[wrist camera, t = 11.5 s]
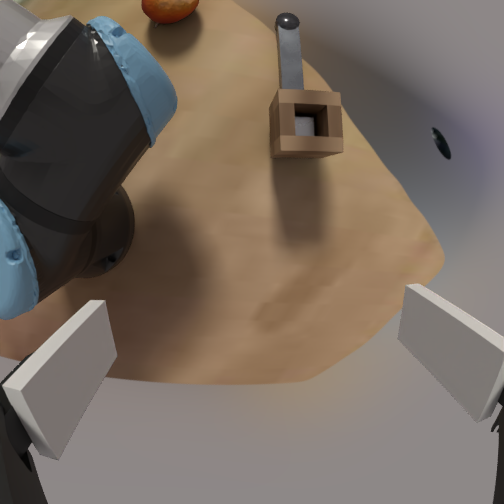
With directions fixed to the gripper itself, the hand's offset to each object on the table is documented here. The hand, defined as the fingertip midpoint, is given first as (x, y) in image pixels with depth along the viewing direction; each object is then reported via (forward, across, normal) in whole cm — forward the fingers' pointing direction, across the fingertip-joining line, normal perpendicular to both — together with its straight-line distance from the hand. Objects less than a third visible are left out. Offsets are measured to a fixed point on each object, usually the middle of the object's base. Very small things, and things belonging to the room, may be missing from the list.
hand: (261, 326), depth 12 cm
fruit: (+29, -9, +33) cm, 45 cm away
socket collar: (+26, +7, +12) cm, 30 cm away
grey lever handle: (+29, +7, +20) cm, 36 cm away
